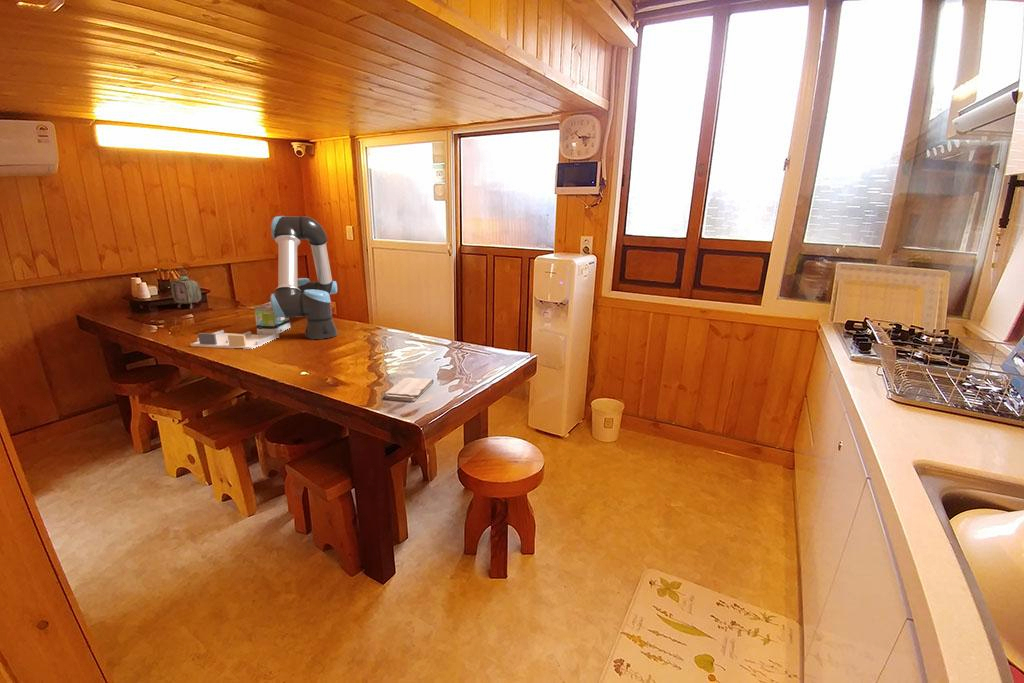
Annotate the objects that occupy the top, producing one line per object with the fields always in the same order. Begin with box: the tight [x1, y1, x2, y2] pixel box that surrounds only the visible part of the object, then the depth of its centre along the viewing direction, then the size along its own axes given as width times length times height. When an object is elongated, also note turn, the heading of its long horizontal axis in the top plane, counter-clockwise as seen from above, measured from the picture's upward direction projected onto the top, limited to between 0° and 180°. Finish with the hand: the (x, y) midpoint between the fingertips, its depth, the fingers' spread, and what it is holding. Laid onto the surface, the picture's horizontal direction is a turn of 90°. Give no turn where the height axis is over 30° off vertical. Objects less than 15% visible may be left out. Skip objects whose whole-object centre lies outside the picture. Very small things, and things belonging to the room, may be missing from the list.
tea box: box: [253, 301, 291, 335], centre depth 231 cm, size 15×10×15 cm, turn 179°
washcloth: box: [384, 377, 434, 403], centre depth 159 cm, size 12×18×3 cm, turn 170°
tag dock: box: [190, 329, 280, 350], centre depth 214 cm, size 31×20×6 cm, turn 83°
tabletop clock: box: [169, 268, 202, 310], centre depth 282 cm, size 14×9×25 cm, turn 72°
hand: (269, 317), depth 229 cm, fingers closed on tea box, 10 cm apart
